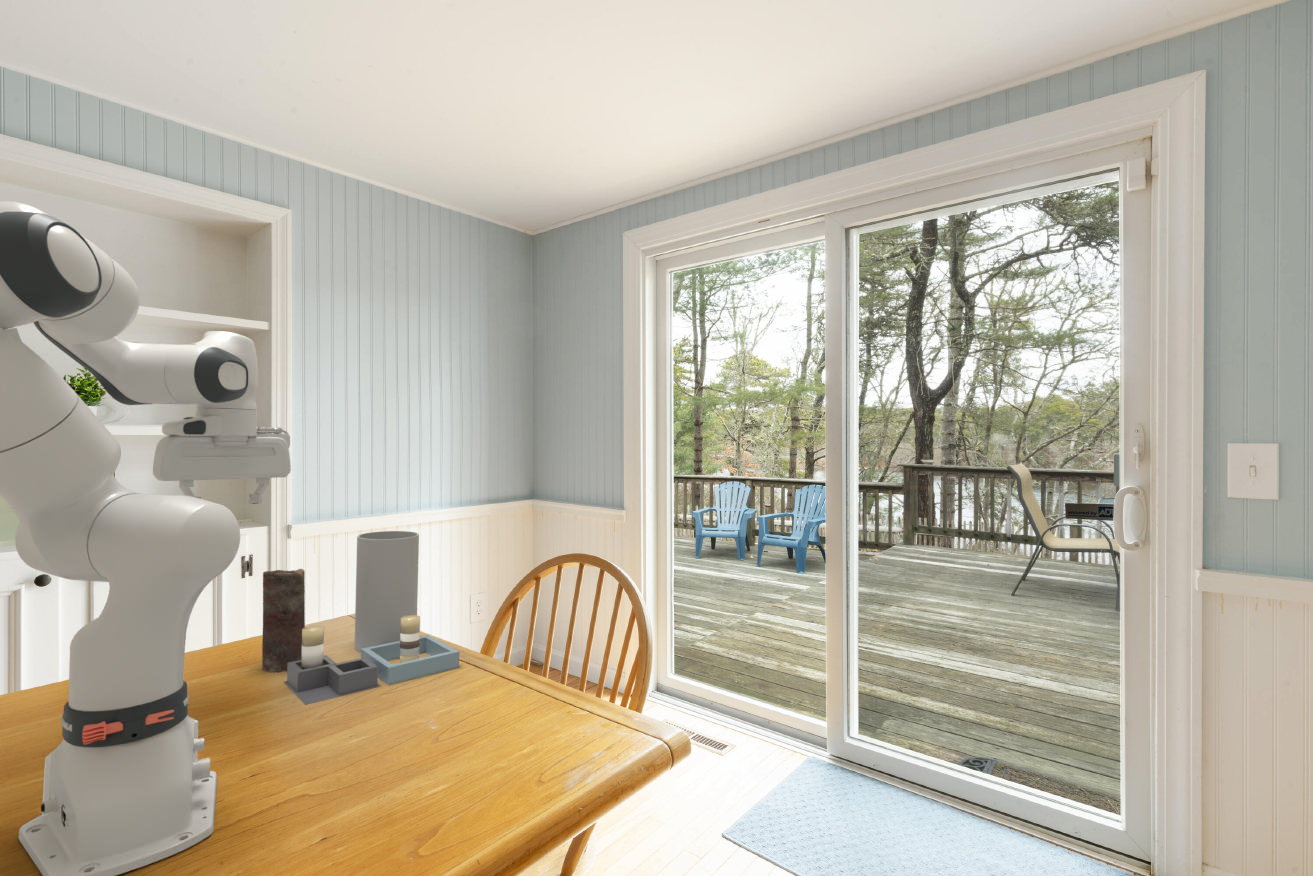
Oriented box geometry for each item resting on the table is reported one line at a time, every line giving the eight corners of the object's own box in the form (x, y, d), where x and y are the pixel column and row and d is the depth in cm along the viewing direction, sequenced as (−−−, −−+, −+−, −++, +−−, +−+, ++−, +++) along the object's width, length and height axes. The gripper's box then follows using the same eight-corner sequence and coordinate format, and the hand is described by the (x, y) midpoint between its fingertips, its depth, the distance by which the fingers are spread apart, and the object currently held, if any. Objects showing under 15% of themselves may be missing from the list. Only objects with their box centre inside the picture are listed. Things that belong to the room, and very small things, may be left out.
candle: (251, 674, 124) (254, 571, 124) (283, 662, 131) (286, 564, 131) (282, 679, 122) (285, 574, 122) (313, 666, 129) (316, 567, 129)
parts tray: (458, 672, 128) (459, 651, 128) (388, 690, 118) (388, 667, 118) (428, 654, 138) (428, 635, 138) (360, 669, 128) (360, 648, 128)
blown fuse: (422, 668, 128) (423, 617, 128) (403, 672, 125) (405, 621, 125) (414, 663, 130) (415, 614, 130) (396, 667, 128) (397, 617, 128)
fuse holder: (380, 691, 117) (381, 666, 117) (305, 710, 108) (305, 684, 108) (354, 671, 127) (355, 648, 127) (283, 687, 118) (283, 662, 118)
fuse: (325, 682, 118) (326, 628, 118) (304, 687, 115) (305, 632, 116) (319, 677, 121) (320, 624, 121) (298, 682, 118) (299, 627, 118)
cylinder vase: (341, 653, 137) (343, 536, 137) (386, 637, 148) (389, 529, 148) (385, 662, 132) (388, 541, 132) (428, 645, 144) (431, 533, 144)
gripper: (282, 427, 122) (280, 500, 122) (150, 424, 105) (148, 508, 105) (298, 427, 118) (296, 502, 118) (163, 424, 102) (161, 511, 102)
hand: (225, 505), depth 112 cm, fingers open, 8 cm apart
